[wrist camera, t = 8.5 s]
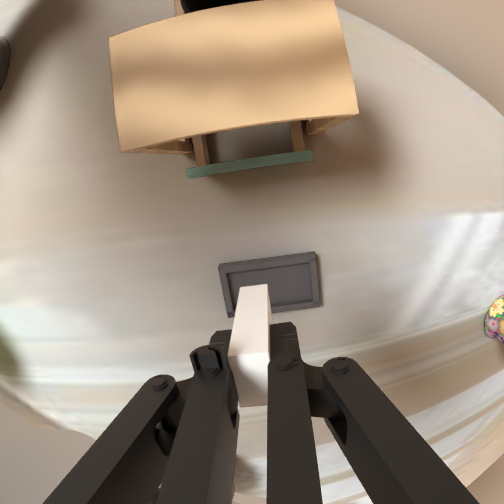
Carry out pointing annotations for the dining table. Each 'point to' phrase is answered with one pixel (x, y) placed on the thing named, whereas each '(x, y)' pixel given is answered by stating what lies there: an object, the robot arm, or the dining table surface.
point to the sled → (261, 161)
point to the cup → (208, 4)
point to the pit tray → (274, 281)
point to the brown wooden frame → (230, 73)
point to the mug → (495, 320)
